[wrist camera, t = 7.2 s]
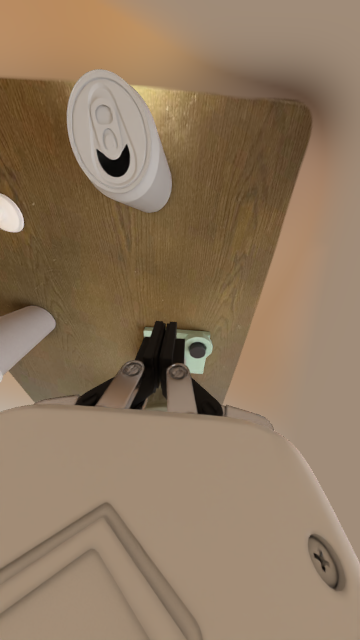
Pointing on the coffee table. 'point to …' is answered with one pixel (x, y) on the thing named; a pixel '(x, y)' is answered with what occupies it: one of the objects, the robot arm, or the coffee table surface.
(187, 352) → the scale
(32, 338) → the coffee cup
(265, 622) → the robot arm
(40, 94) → the coffee table surface
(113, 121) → the beverage can
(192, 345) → the button
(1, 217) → the chess piece
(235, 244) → the coffee table surface
